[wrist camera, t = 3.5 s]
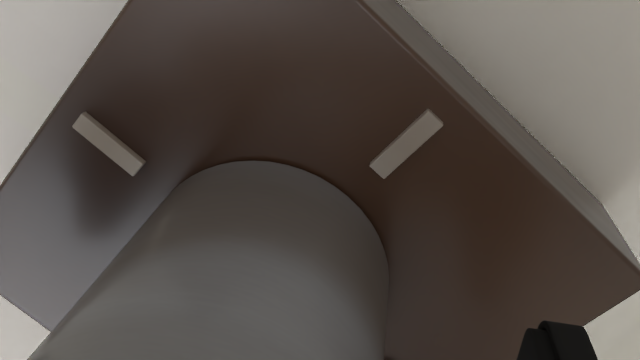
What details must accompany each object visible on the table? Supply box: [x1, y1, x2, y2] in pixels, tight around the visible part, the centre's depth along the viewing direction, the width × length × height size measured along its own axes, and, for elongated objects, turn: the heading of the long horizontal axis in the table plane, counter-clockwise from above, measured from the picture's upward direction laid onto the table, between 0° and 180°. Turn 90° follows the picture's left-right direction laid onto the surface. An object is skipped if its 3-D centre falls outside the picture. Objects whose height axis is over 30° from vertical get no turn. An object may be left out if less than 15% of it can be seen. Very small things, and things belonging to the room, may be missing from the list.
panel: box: [0, 0, 640, 360], centre depth 13 cm, size 10×10×3 cm
